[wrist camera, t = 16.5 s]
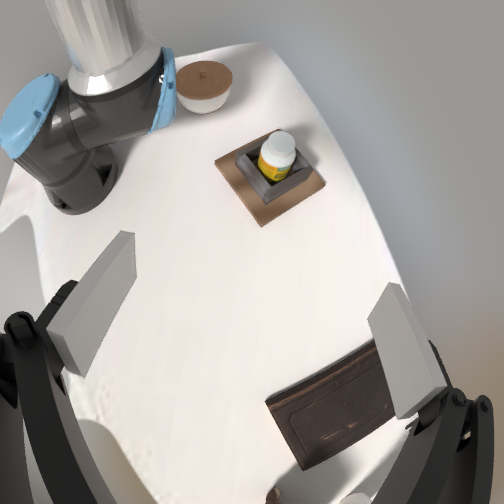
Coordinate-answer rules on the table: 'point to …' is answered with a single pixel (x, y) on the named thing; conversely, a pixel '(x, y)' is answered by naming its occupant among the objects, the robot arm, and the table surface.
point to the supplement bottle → (276, 157)
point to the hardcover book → (334, 408)
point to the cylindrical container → (356, 499)
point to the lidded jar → (203, 86)
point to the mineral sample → (273, 497)
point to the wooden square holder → (257, 188)
